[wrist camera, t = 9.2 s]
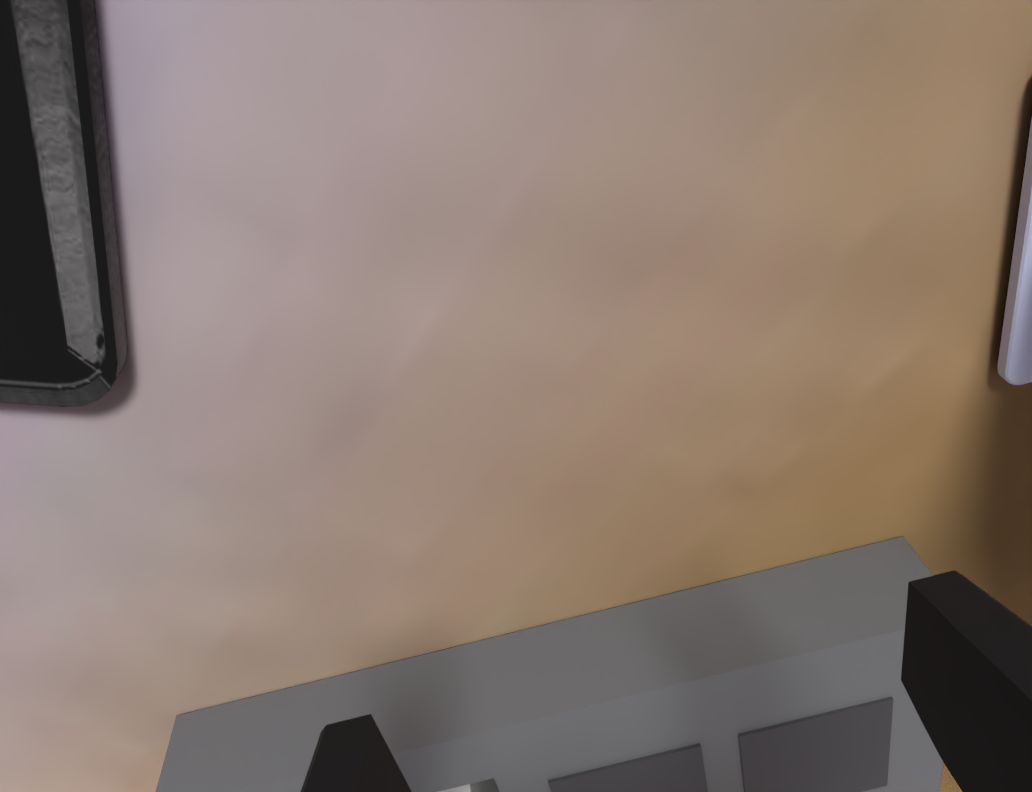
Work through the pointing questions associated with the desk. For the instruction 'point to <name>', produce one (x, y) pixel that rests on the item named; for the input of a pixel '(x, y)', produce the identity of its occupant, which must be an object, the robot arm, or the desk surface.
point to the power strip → (624, 698)
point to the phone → (56, 210)
